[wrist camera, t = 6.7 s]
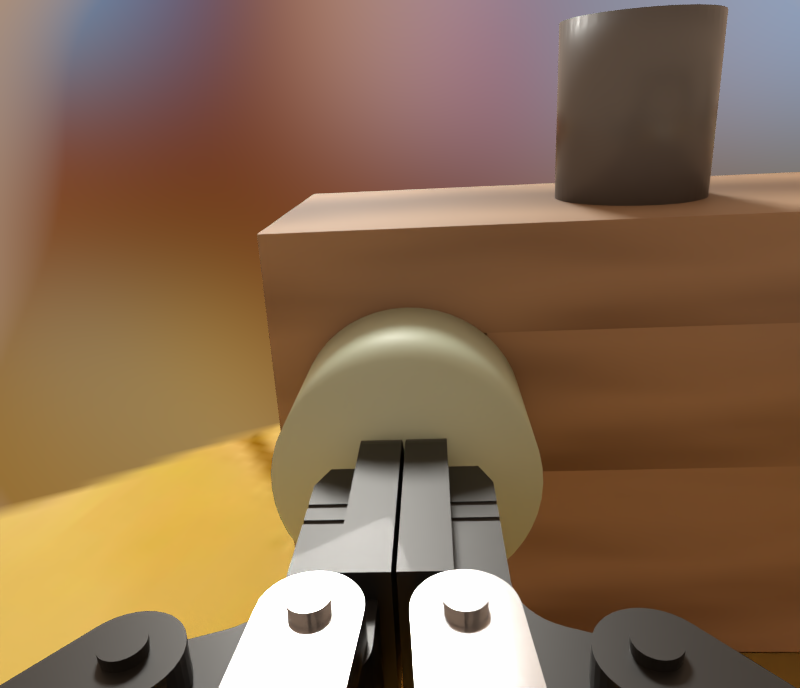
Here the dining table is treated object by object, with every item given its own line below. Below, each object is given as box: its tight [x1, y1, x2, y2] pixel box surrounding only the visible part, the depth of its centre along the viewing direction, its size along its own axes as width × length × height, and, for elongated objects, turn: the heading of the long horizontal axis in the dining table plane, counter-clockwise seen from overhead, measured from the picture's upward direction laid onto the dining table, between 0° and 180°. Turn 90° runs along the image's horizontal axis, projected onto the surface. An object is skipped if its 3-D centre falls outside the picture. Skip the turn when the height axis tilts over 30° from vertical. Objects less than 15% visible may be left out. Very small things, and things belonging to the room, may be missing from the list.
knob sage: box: [271, 307, 543, 559], centre depth 17 cm, size 12×5×5 cm, turn 177°
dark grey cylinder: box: [555, 4, 728, 206], centre depth 16 cm, size 4×4×4 cm
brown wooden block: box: [257, 172, 800, 652], centre depth 18 cm, size 7×17×11 cm, turn 87°
